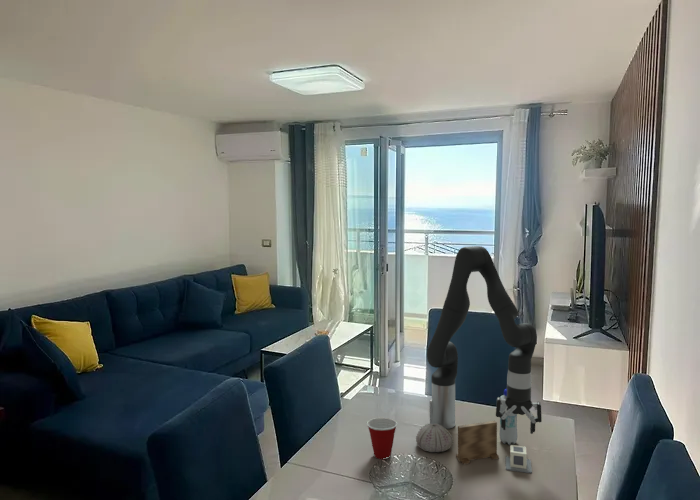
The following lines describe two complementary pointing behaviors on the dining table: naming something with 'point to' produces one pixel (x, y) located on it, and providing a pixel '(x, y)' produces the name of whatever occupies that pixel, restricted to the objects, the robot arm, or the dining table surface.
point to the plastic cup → (382, 436)
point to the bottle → (508, 425)
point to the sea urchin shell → (434, 438)
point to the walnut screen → (477, 441)
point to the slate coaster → (527, 470)
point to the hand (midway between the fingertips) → (517, 430)
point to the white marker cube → (518, 456)
